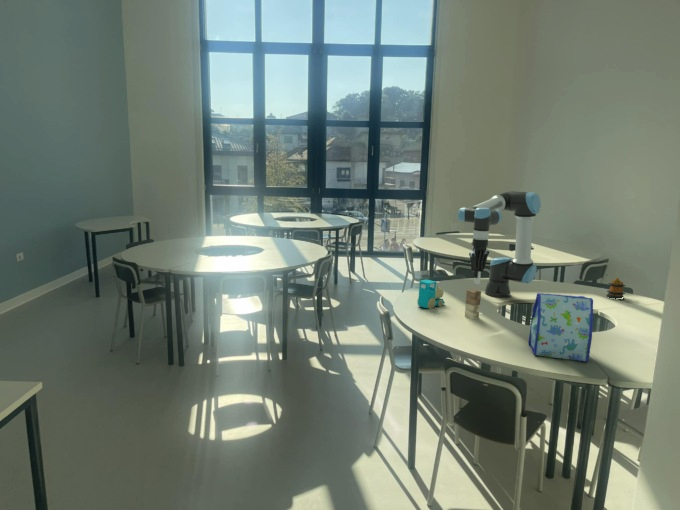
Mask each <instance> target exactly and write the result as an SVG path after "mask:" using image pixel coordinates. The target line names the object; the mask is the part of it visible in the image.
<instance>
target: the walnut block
mask: <svg viewBox="0 0 680 510" xmlns="http://www.w3.org/2000/svg"><path fill="white" fill-rule="evenodd" d="M481 297H482V290H478V289H475V288H472V289H466V296H465V305H466V304H469V305H472V306H475V305H480V306H481Z"/></svg>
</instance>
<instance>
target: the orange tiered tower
mask: <svg viewBox="0 0 680 510" xmlns="http://www.w3.org/2000/svg"><path fill="white" fill-rule="evenodd" d="M614 279H615V280H612V281H611V282H609V283H608V285H610V287H609V289H608V290H606V292H607V293H606V296H607V297H609V298H608V299H610V298H615V299H616V298H622V297H624V295H626V292H624V287H627V286H626V285H625V284H624V282H623V281H621V280H619V279H620V278H618V277H616V278H614ZM607 297H606V298H607ZM624 298H625V297H624Z"/></svg>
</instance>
